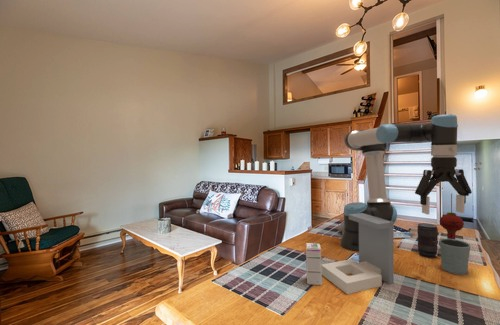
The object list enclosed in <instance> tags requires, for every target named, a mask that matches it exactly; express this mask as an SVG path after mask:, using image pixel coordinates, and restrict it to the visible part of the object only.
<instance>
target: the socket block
mask: <svg viewBox="0 0 500 325" xmlns="http://www.w3.org/2000/svg"><path fill="white" fill-rule="evenodd" d="M349 219H350V220H353V221H356V222H359V251H358V261H357V260H354V259H352V258H350V259H344V260H338V261H334V262H328V263H321V264H322V277H324V278H326V279H327V280H328V281H330V282H331V283H332V284H333V285H335V287H337V288H338V289H340V290H341V291H342V292H344V293H345V294H347V295H350V294H355V293H358V292H362V291H367V290H370V289H376V288H379V287H382V286H383V285H382V284H383V283H382V281H384V282H385V283H387V284H389V285H391V284H394V283H395V281H394V267H395V266H394V263H395V262H394V259H395V258H394V257H395V256H394V249H395V248H394V240H395V239H394V226H395V225H394V224H393V222H392V221H388V220H385V219H381V218H378V217H374V216H371V215H367V214H364V213H358V214H349ZM350 274H351V275H350Z"/></svg>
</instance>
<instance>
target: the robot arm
mask: <svg viewBox="0 0 500 325" xmlns="http://www.w3.org/2000/svg"><path fill="white" fill-rule="evenodd" d="M458 127H459V124H458V116H457V115H456V114H451V113H449V114H437V115H434V116H432V117H431V121H430V122H426V123H397V124H396V123H386V124H380V125H379V126H378V127H375V128H370V129H365V130H363V129H361V130H359V129H357V130H352V131H349V132H347V133H346V135H345V137H344V145H345V147H347V148H348V149H350V150H352V151H361V154H362V156H364V157H365V158H364V159H365V167H366V176H367V187H368V197H369V198H368V200H367V201H366V202H360V201H359V202H356V201H355V202H349V203H346V204H345V205H344V207H343V222H344V233H343V235H342V236H341V239H340V245H341V247H342V248H344V249H346V250H350V251H355V252H359V222H356V221H353V220H350V219H349V214H358V213H364V214H367V215H371V216H374V217H378V218H381V219H385V220H388V221H392V222H393V225H394V224H395V223H396V221H397V217H398V212H397V209H396V207H395V206H394V205H393V204H391V201H390V200H389V199H388V198H387V197H388V194H387V189H386V188H387V187H386V179H385V177H386V176H385V167H384V160H383V159H384V158H383V155H384V154H385V153H386V150H387V149H388V147H389V145H390V144H392V143H393V144H394V143H427V142H431V144H430V145H431V146H430V148H431V149H430V156H431V158H430V167H431V168H432V169H424V170H423V171H422V172H423V174H422V177H421V179H420V180H419V183H418V184H417V187H416V189H415V192H414V194H416V195H418V196H419V197H420V198H419V199H420V205H421V213H422V214H425V215H430V203H431V202H430V196H429V195H430V193H431V192H432V191H433V190H434V188H435V187H436V186H437V184H439V183H442V182H448V183H449V184H450V185H451V187H452V188H453V189H454V190H455V192H456V193H457V194H456V195H455V212H456V213H460V214H465V205H466V203H467V202H466V201H467V197H469V196H470V195H471V194H472V192H473V191H472V189H471V187H470V185H469V183H468V180H467V178H466V176H465V172H464V171H465V170H464V169H462V168H461V169H460V168H457V166H458V164H457V162H458V161H457V160H458V158H457V157H455V156H457V154H458Z"/></svg>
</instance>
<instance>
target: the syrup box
mask: <svg viewBox="0 0 500 325" xmlns="http://www.w3.org/2000/svg"><path fill="white" fill-rule="evenodd" d="M305 258H306V259H305V260H306V262H305V263H306V281H307V282H306V284H307V285H313V286H314V285H315V286H323V275H322V264H323V263H322V248H321V244H320V243H317V242H308V243H307V242H306V243H305Z"/></svg>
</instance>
